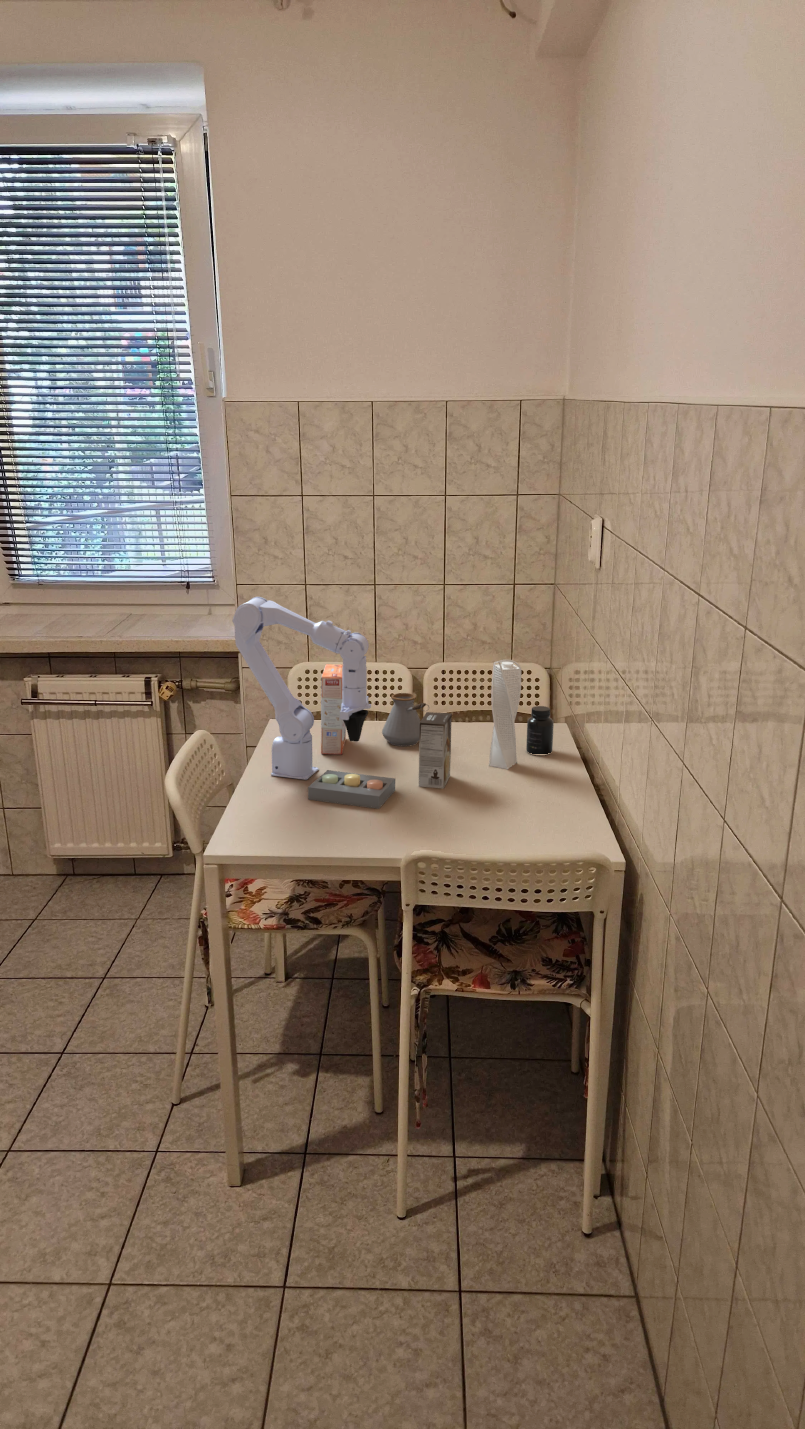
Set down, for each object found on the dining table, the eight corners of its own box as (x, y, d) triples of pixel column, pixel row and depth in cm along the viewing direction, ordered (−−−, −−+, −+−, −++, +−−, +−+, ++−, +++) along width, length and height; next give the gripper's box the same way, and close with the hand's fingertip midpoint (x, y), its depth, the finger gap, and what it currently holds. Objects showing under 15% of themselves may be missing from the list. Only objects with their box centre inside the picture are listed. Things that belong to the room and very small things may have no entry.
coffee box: (424, 773, 245) (426, 711, 240) (450, 775, 244) (452, 712, 239) (417, 786, 236) (419, 722, 232) (444, 789, 235) (446, 724, 230)
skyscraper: (509, 772, 247) (514, 662, 239) (482, 766, 250) (486, 658, 242) (522, 763, 253) (527, 655, 245) (495, 757, 257) (500, 651, 249)
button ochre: (342, 791, 229) (342, 778, 228) (347, 786, 233) (347, 773, 232) (357, 793, 228) (357, 780, 227) (362, 788, 232) (362, 774, 231)
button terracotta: (364, 797, 228) (364, 784, 227) (370, 792, 231) (370, 778, 230) (379, 799, 227) (379, 785, 226) (384, 794, 230) (384, 780, 229)
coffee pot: (376, 737, 271) (376, 684, 267) (415, 733, 275) (416, 681, 271) (403, 762, 252) (404, 706, 248) (445, 758, 256) (446, 702, 252)
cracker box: (343, 755, 257) (343, 676, 251) (320, 755, 257) (319, 676, 251) (347, 738, 270) (347, 663, 264) (325, 738, 270) (324, 663, 264)
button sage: (319, 791, 231) (319, 778, 230) (325, 786, 234) (325, 773, 233) (334, 793, 230) (334, 780, 229) (340, 788, 233) (340, 775, 232)
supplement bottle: (533, 746, 266) (536, 703, 263) (556, 751, 263) (559, 707, 259) (521, 752, 261) (523, 708, 258) (544, 758, 257) (546, 713, 254)
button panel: (308, 799, 228) (308, 787, 227) (327, 781, 239) (327, 770, 238) (378, 808, 223) (378, 796, 222) (395, 790, 234) (395, 778, 233)
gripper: (360, 695, 227) (359, 751, 231) (380, 679, 241) (380, 733, 245) (331, 692, 229) (331, 748, 233) (352, 677, 243) (352, 730, 247)
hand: (354, 740), depth 239 cm, fingers closed
